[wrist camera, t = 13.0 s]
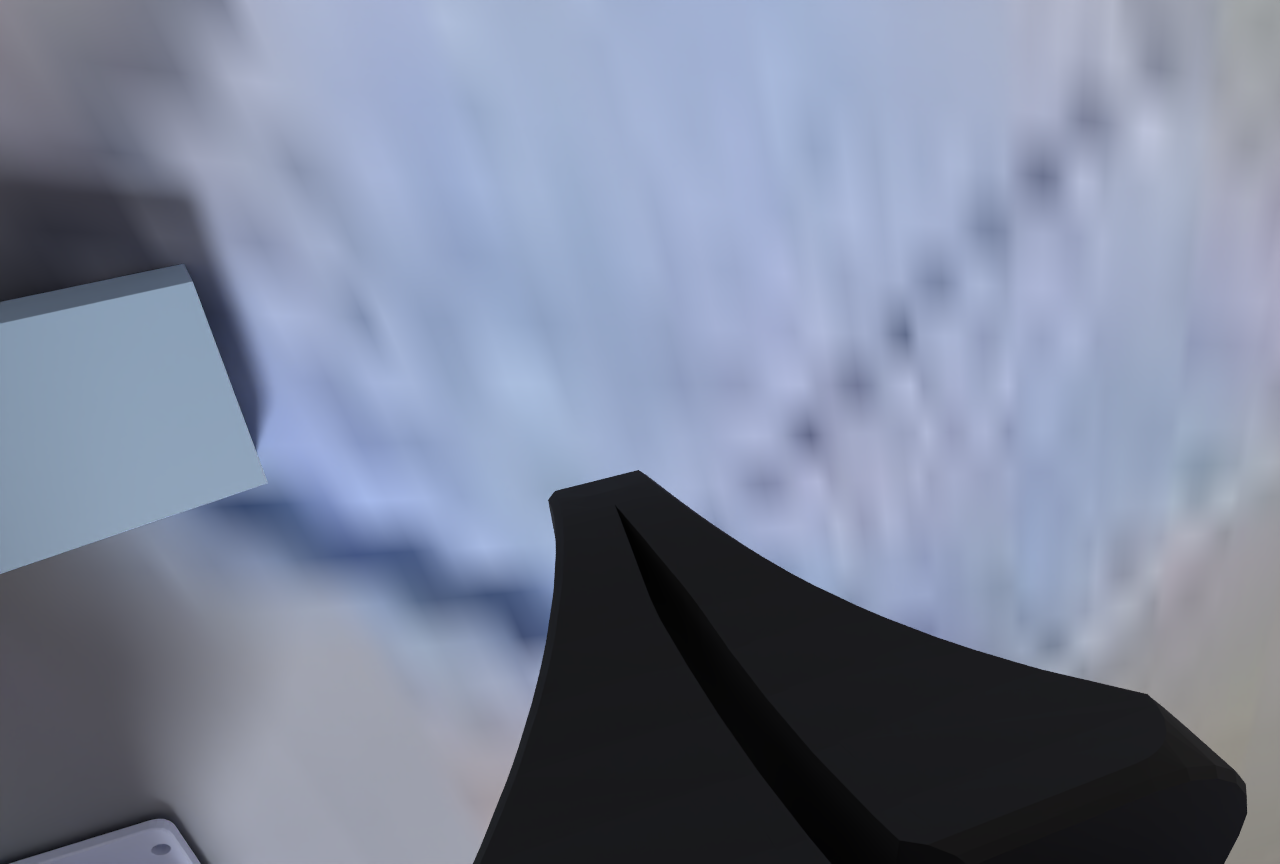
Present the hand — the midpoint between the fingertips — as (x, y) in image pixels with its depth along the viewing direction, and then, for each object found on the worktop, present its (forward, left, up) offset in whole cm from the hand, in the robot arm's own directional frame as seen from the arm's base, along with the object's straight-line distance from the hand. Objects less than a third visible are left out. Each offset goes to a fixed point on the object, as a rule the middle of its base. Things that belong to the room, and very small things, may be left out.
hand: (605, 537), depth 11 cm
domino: (0, +7, -10) cm, 12 cm away
